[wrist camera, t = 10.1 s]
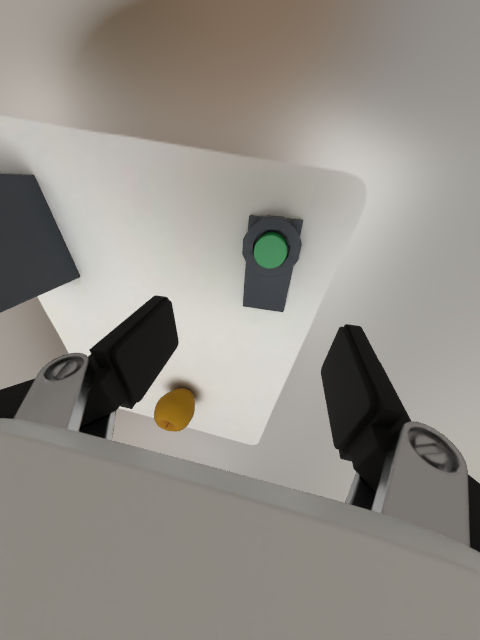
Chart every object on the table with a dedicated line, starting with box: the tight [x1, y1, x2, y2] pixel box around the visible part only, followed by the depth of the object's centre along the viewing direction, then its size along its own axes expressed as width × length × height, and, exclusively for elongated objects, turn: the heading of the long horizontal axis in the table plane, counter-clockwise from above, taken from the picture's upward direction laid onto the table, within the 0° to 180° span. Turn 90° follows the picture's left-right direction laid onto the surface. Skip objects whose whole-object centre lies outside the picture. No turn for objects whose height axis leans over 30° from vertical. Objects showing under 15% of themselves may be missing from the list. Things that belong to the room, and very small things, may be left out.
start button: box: [254, 232, 287, 269], centre depth 22 cm, size 4×4×2 cm
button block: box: [243, 215, 303, 312], centre depth 25 cm, size 12×6×2 cm, turn 177°
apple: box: [154, 388, 195, 431], centre depth 43 cm, size 9×8×9 cm
